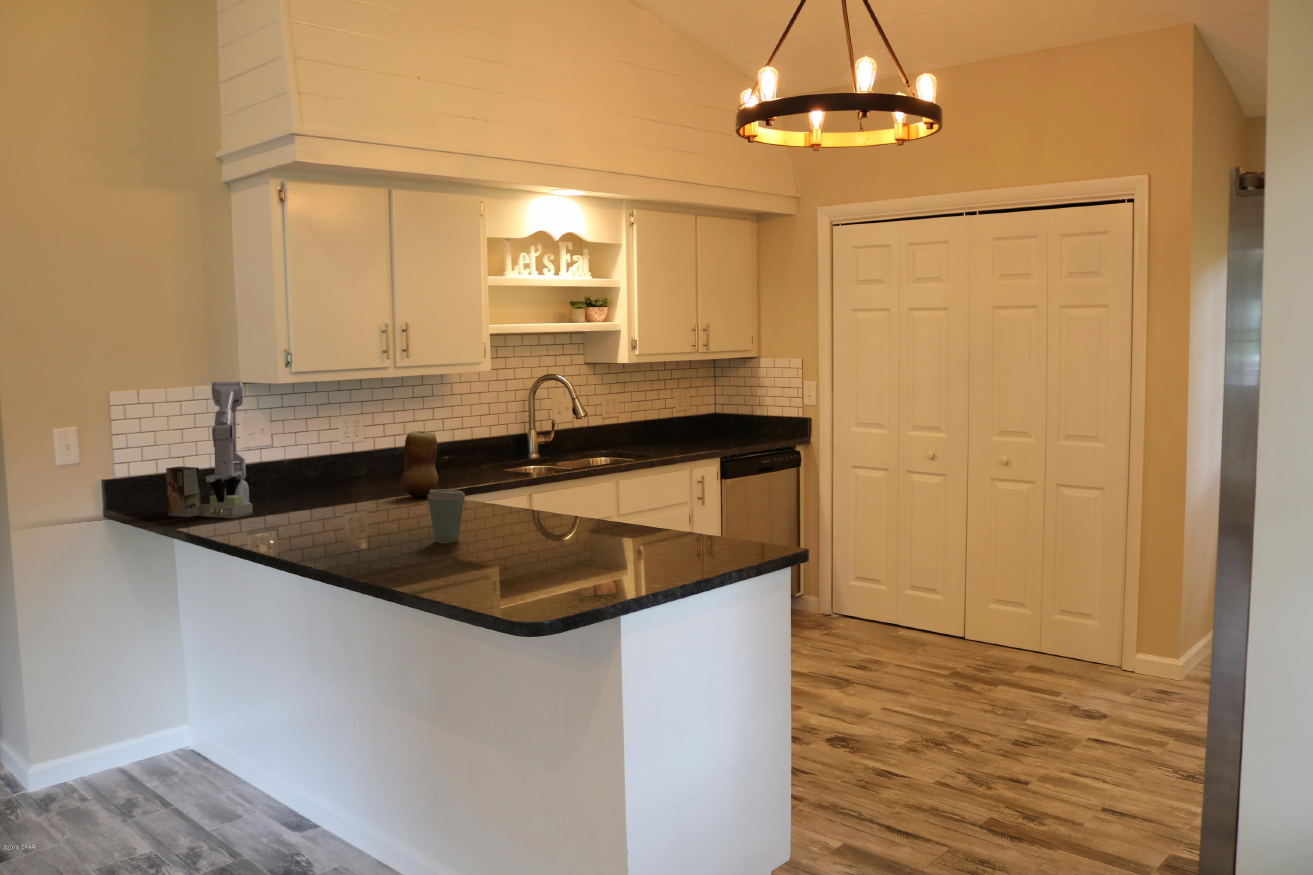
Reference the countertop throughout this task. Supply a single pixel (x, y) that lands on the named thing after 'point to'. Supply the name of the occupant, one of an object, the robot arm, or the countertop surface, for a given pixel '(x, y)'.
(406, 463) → the butternut squash
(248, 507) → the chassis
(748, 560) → the countertop surface
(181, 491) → the coffee box
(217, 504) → the board
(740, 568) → the countertop surface
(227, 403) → the robot arm
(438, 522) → the disposable coffee cup
